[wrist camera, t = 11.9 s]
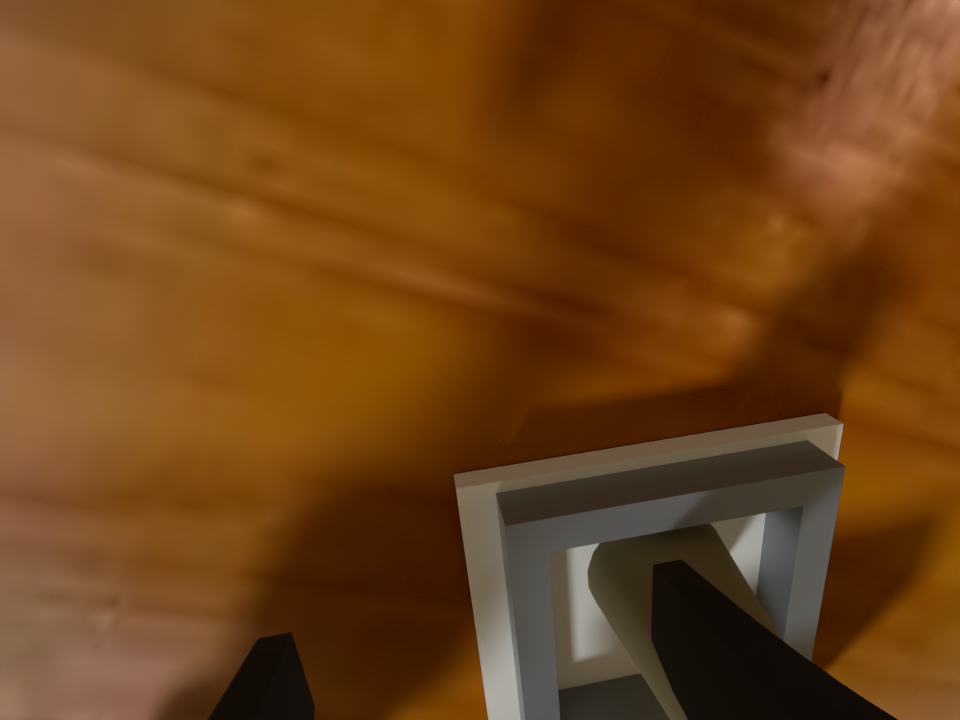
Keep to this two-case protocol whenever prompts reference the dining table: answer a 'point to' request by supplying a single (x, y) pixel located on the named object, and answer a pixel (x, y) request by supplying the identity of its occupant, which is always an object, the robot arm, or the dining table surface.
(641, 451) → the socket block
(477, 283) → the dining table surface
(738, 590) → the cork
